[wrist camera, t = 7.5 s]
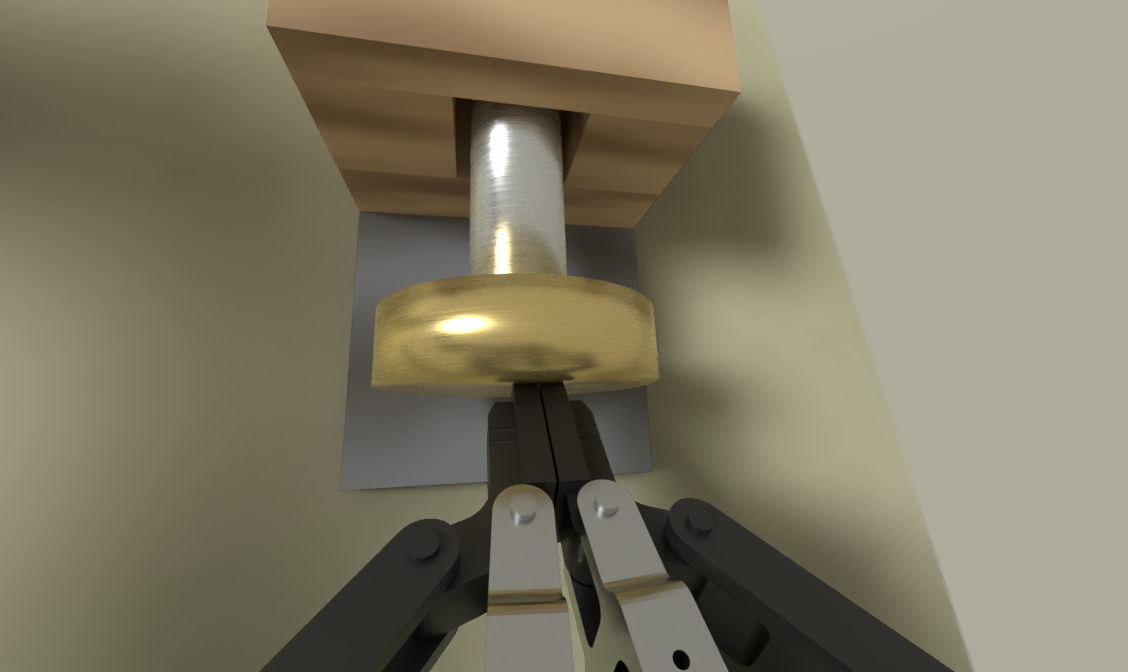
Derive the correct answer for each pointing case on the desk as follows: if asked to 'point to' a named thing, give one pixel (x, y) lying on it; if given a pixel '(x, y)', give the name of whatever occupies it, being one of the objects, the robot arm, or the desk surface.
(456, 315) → the shaft
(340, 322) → the desk surface
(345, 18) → the bearing block
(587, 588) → the robot arm
